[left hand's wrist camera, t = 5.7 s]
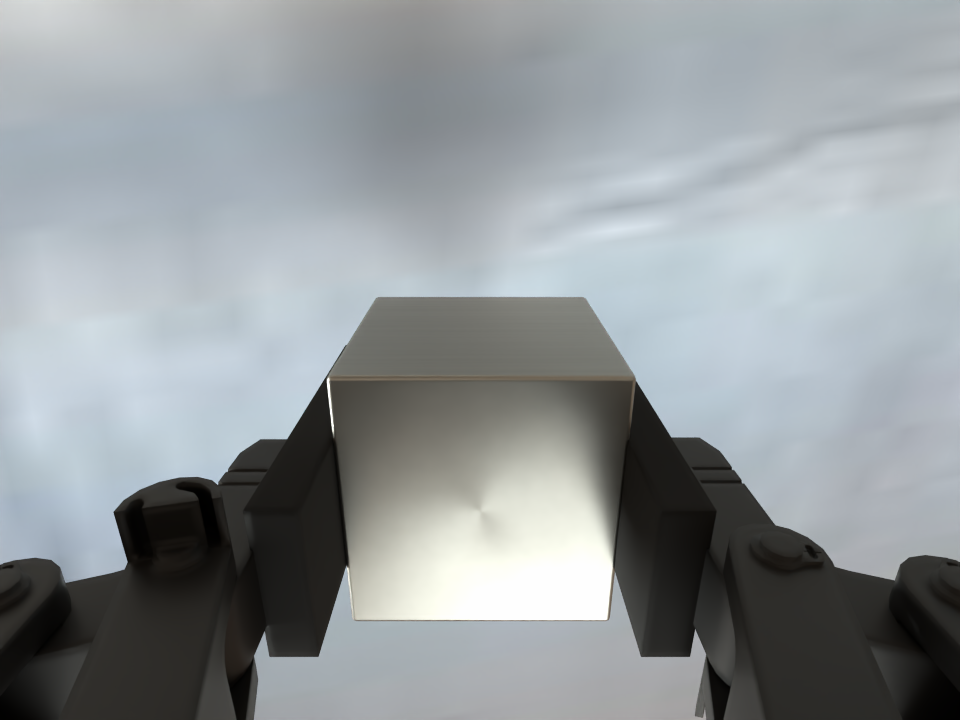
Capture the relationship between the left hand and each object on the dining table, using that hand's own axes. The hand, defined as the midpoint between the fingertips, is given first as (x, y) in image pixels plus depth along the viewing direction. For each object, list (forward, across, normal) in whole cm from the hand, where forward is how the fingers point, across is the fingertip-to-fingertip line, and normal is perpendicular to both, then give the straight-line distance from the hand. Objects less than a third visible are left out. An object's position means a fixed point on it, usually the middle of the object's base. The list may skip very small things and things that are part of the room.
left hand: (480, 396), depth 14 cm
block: (0, 0, 0) cm, 0 cm away
